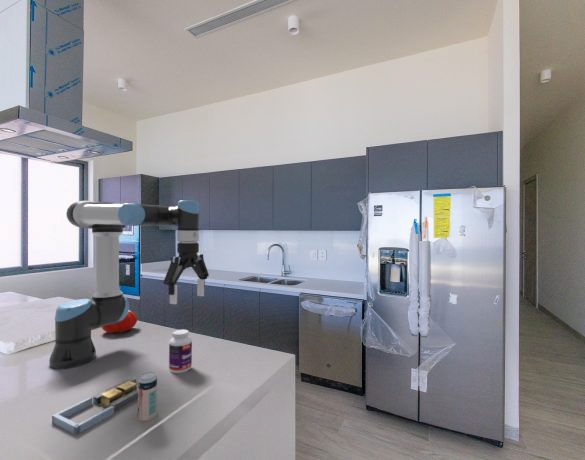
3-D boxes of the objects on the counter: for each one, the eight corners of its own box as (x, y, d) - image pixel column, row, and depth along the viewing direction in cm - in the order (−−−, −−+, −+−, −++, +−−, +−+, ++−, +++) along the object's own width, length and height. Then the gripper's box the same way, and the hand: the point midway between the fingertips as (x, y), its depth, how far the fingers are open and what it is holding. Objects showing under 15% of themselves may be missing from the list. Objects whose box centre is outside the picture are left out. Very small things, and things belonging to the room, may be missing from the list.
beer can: (142, 412, 87) (142, 371, 87) (159, 411, 87) (159, 371, 87) (135, 423, 82) (135, 379, 82) (152, 422, 83) (153, 379, 83)
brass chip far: (116, 396, 94) (116, 386, 94) (128, 389, 98) (128, 380, 98) (125, 399, 93) (125, 389, 92) (136, 392, 96) (136, 383, 96)
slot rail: (93, 404, 91) (93, 396, 91) (132, 384, 102) (132, 377, 102) (114, 413, 86) (114, 405, 86) (152, 391, 98) (152, 384, 98)
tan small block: (100, 404, 90) (101, 394, 90) (113, 397, 93) (113, 388, 93) (109, 408, 88) (109, 397, 88) (122, 401, 92) (122, 391, 92)
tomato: (96, 332, 153) (96, 312, 153) (130, 324, 165) (130, 306, 165) (106, 339, 144) (107, 318, 143) (141, 330, 156) (141, 311, 156)
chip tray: (52, 424, 81) (52, 415, 81) (90, 405, 90) (90, 396, 90) (75, 437, 77) (76, 427, 77) (113, 415, 86) (113, 406, 86)
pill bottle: (184, 376, 109) (184, 336, 109) (164, 373, 110) (164, 334, 110) (195, 366, 117) (196, 329, 116) (177, 363, 118) (177, 327, 118)
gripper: (168, 244, 97) (168, 309, 98) (218, 241, 120) (217, 294, 120) (152, 243, 101) (151, 306, 101) (203, 240, 123) (203, 292, 123)
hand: (187, 299), depth 110 cm, fingers open, 13 cm apart
